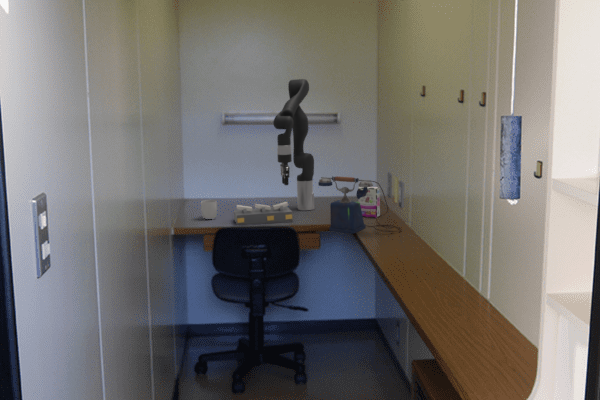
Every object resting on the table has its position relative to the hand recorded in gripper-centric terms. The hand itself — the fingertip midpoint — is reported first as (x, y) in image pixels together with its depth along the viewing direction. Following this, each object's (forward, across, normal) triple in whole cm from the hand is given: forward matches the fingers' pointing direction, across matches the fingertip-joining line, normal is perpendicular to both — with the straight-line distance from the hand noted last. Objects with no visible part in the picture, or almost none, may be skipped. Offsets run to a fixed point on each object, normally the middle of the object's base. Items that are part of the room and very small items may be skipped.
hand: (285, 184), depth 346 cm
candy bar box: (+20, -8, -45) cm, 50 cm away
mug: (+20, +17, +41) cm, 49 cm away
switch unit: (+19, 0, +13) cm, 23 cm away
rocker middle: (+12, 0, +13) cm, 18 cm away
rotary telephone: (+20, -37, -31) cm, 52 cm away
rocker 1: (+12, 0, +23) cm, 26 cm away
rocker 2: (+12, 0, +3) cm, 13 cm away
